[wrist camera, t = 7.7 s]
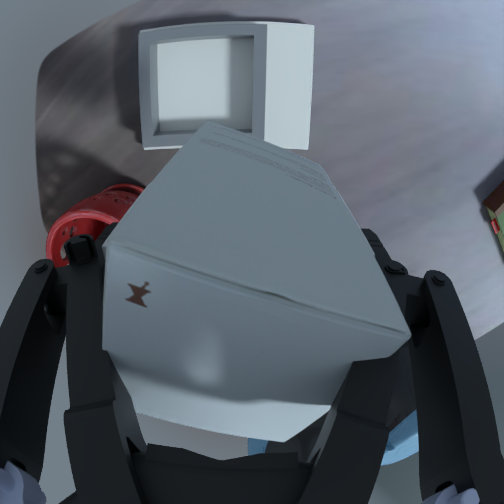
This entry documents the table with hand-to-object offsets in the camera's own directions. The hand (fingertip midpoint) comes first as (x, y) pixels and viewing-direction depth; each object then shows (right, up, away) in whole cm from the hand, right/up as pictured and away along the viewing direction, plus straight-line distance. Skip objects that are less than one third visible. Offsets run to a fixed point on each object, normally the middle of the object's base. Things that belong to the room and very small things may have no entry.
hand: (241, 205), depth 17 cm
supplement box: (0, +1, +1) cm, 2 cm away
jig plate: (-2, +15, +12) cm, 20 cm away
